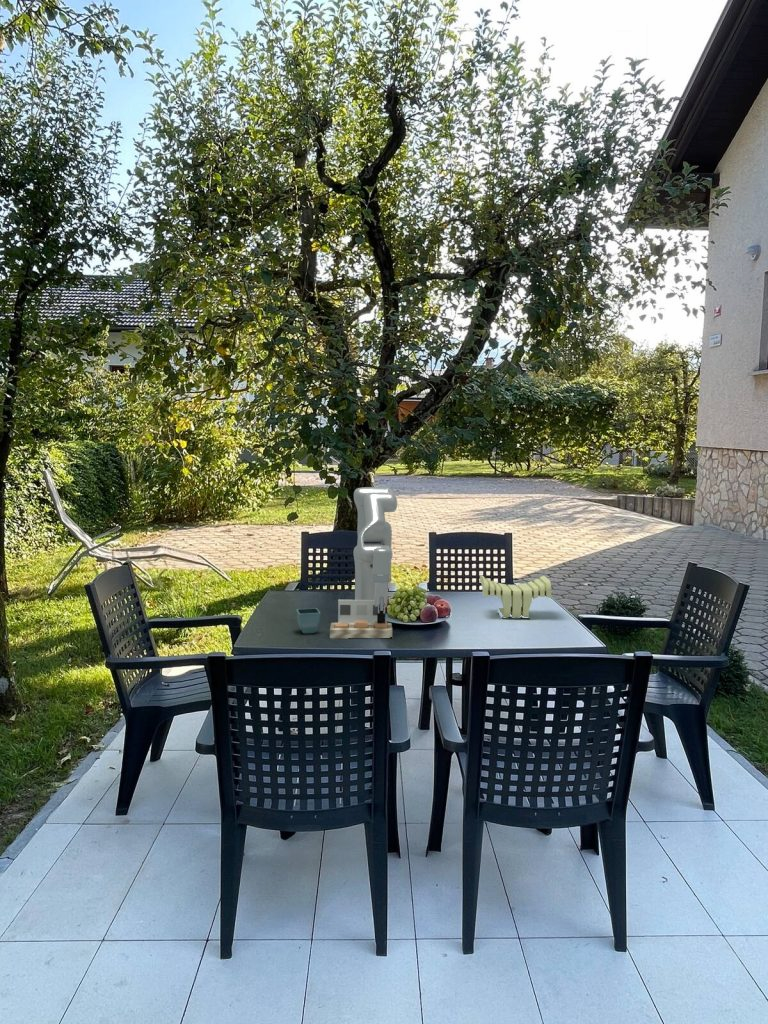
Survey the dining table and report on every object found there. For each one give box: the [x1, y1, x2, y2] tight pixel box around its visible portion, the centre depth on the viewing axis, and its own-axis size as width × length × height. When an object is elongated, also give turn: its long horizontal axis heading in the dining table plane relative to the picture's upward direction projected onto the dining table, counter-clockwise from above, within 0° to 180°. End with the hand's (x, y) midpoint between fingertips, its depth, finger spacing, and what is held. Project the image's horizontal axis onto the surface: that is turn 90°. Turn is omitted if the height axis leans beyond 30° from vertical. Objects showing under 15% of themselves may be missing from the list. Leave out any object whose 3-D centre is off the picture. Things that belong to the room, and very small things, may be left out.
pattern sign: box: [337, 599, 378, 623], centre depth 310 cm, size 20×5×11 cm, turn 91°
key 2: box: [375, 620, 388, 628], centre depth 295 cm, size 5×5×4 cm
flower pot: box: [295, 607, 321, 635], centre depth 298 cm, size 9×9×9 cm
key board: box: [329, 622, 393, 639], centre depth 295 cm, size 25×12×4 cm, turn 91°
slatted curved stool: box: [479, 574, 552, 618], centre depth 332 cm, size 30×16×18 cm, turn 90°
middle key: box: [355, 620, 367, 628], centre depth 295 cm, size 5×5×4 cm
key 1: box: [335, 622, 348, 628], centre depth 295 cm, size 5×5×4 cm
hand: (381, 622), depth 295 cm, fingers closed
